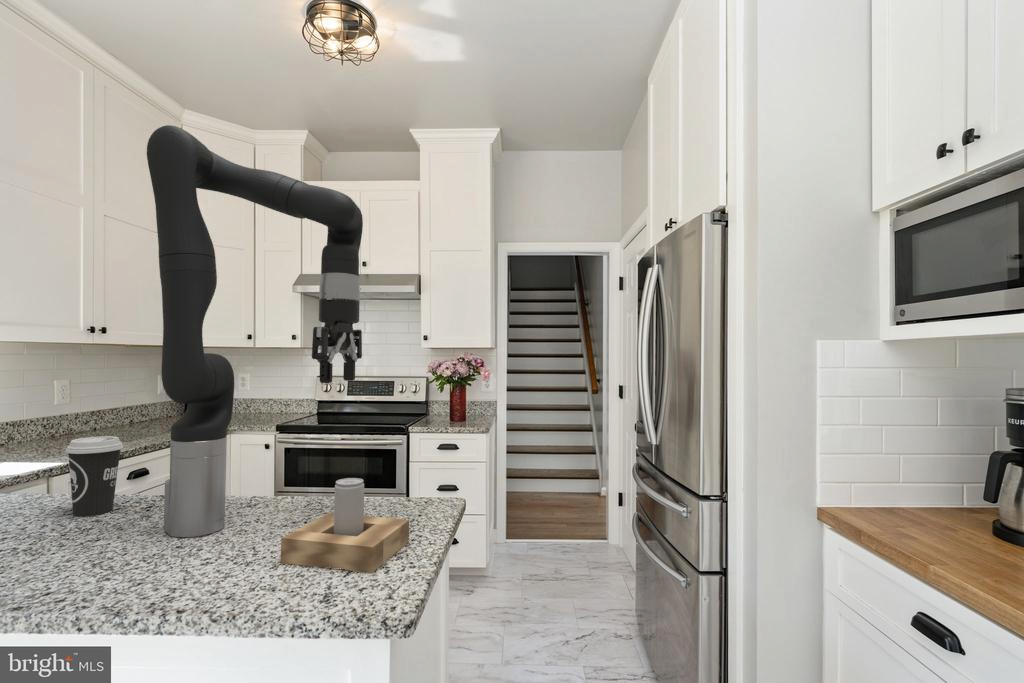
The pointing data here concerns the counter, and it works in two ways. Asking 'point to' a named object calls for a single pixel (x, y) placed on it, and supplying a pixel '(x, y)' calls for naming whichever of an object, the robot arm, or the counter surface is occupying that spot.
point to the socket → (345, 544)
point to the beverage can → (349, 507)
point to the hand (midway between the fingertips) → (337, 381)
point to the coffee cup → (93, 474)
